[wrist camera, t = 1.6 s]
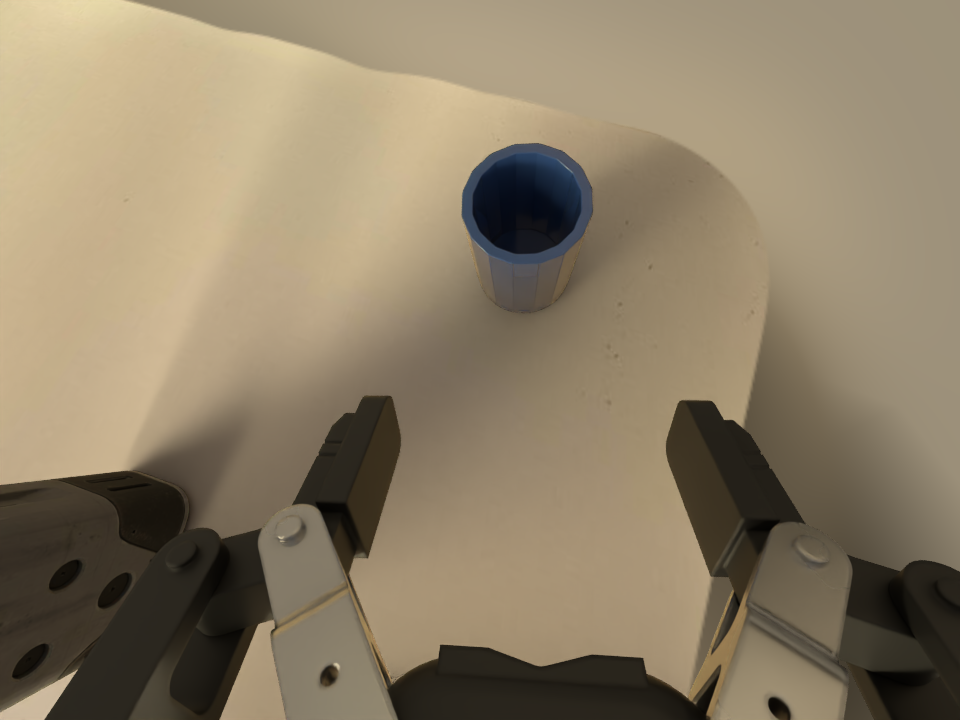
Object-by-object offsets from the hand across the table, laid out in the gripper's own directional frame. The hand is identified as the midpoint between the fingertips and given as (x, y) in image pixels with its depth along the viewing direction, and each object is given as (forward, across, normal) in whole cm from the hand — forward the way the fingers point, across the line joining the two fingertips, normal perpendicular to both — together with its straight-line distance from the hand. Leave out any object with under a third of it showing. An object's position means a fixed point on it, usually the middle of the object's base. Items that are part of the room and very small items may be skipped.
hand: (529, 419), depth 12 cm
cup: (+16, 0, +2) cm, 16 cm away
